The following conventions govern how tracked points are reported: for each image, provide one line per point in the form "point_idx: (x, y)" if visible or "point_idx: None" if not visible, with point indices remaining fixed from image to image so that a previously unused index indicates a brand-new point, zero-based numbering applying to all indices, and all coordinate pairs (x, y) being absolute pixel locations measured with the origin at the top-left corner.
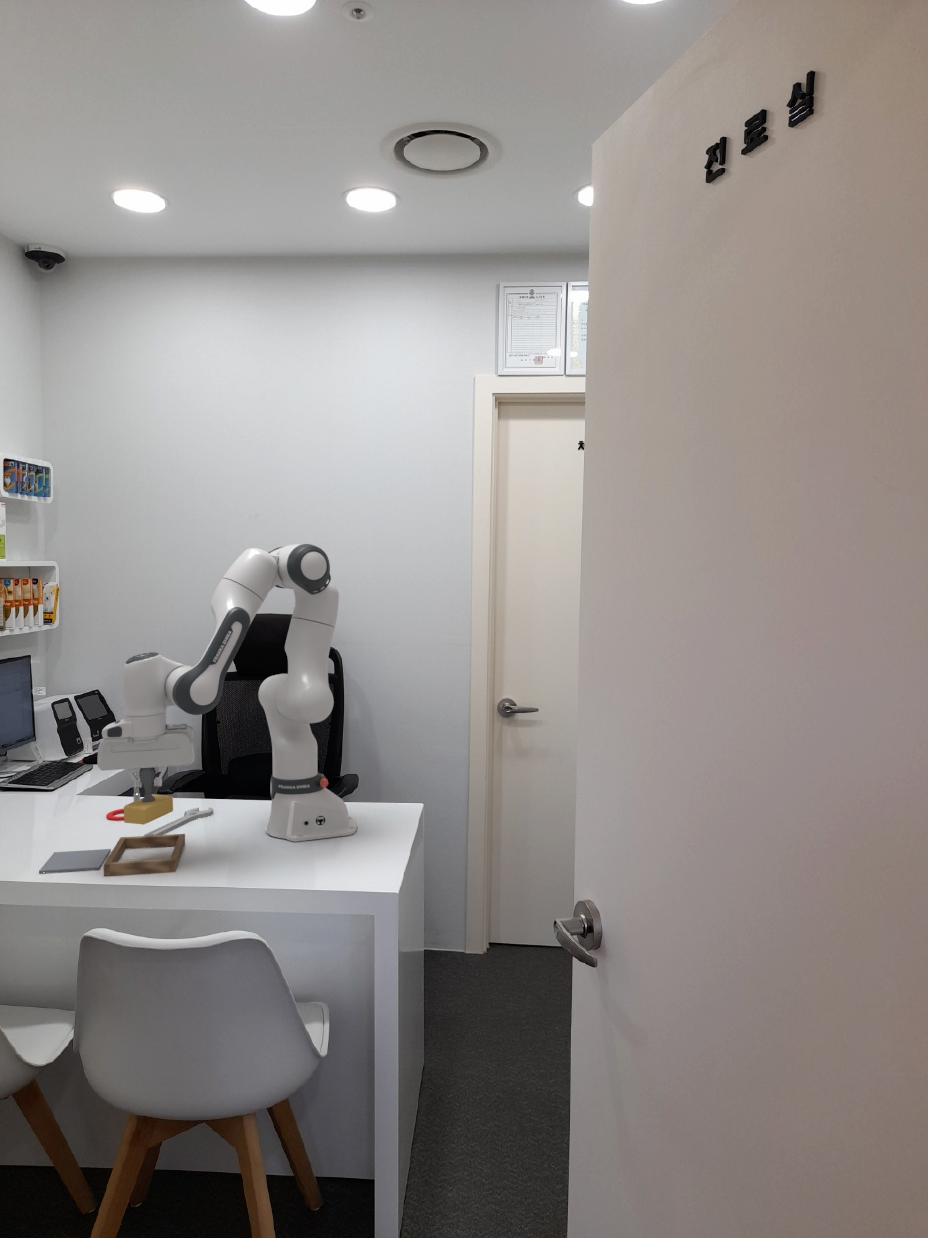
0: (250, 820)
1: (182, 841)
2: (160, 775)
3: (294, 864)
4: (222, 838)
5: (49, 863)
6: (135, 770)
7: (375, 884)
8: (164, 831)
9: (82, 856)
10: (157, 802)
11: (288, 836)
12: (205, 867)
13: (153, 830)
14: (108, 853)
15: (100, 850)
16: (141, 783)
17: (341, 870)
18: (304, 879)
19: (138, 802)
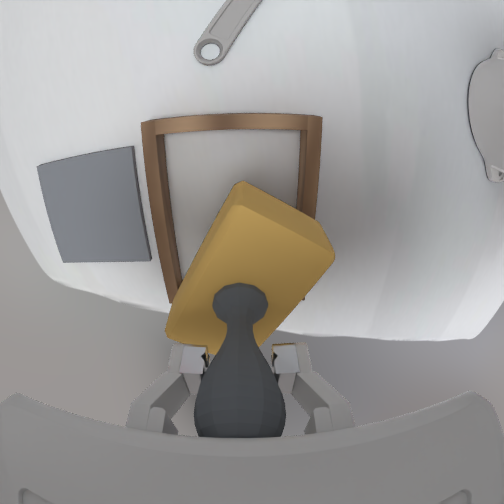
0: (437, 4)
1: (318, 175)
2: (309, 409)
3: (458, 274)
4: (396, 99)
5: (57, 229)
6: (169, 422)
7: (477, 328)
8: (247, 19)
9: (92, 195)
10: (278, 325)
11: (490, 170)
12: (352, 272)
13: (215, 16)
14: (135, 170)
15: (112, 157)
16: (205, 359)
17: (479, 296)
18: (444, 319)
19: (205, 319)
